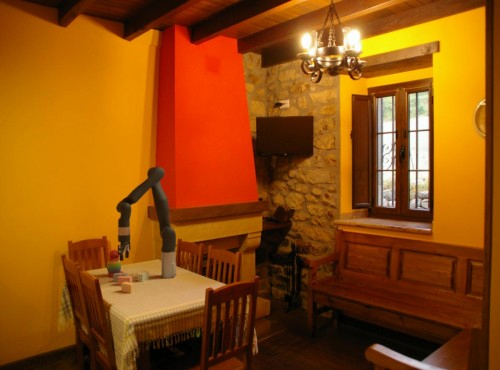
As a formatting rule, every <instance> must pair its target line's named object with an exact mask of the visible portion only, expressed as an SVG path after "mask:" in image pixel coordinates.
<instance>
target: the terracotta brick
mask: <svg viewBox="0 0 500 370" xmlns="http://www.w3.org/2000/svg"><path fill="white" fill-rule="evenodd" d="M123 282H130V283H133V276H130V275H127V276H119V277H118V282H117V286H121V283H123Z"/></svg>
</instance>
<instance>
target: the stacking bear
mask: <svg viewBox="0 0 500 370" xmlns="http://www.w3.org/2000/svg"><path fill="white" fill-rule="evenodd" d="M108 257H109V258H108V260H107V264H106V270H107V277H108V278H113V274H115V273H125V272H124V271H122V270H121V269H122V261H120V255H119V254H118V249H115V248H114V249H112V250H110V251H109V253H108Z"/></svg>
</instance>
